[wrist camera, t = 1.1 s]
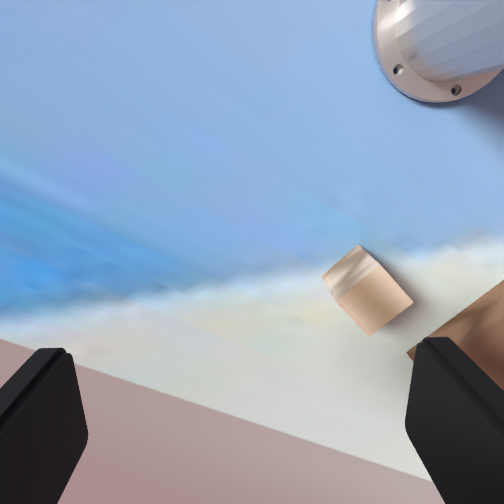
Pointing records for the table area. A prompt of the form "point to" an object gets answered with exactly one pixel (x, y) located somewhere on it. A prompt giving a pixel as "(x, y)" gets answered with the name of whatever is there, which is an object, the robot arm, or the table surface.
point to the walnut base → (479, 333)
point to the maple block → (365, 290)
